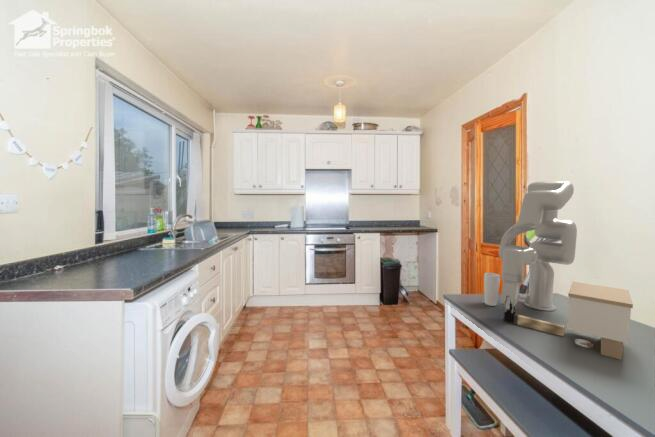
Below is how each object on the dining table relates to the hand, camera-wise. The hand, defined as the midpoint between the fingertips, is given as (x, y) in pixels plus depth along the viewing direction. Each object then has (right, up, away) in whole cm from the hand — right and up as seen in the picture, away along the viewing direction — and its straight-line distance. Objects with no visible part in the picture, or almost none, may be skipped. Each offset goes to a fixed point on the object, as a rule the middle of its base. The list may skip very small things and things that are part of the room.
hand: (509, 320), depth 126 cm
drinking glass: (+3, +1, +21) cm, 21 cm away
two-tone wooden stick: (+6, -1, -5) cm, 8 cm away
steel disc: (+15, -2, -19) cm, 24 cm away
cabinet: (+19, -2, -19) cm, 27 cm away
